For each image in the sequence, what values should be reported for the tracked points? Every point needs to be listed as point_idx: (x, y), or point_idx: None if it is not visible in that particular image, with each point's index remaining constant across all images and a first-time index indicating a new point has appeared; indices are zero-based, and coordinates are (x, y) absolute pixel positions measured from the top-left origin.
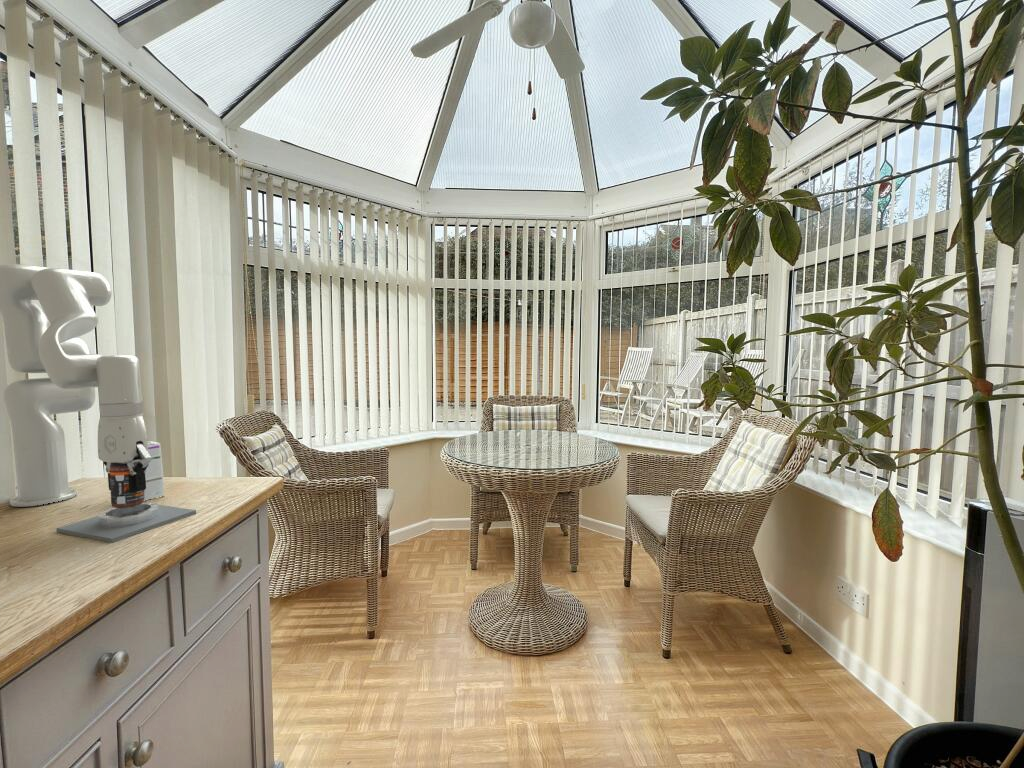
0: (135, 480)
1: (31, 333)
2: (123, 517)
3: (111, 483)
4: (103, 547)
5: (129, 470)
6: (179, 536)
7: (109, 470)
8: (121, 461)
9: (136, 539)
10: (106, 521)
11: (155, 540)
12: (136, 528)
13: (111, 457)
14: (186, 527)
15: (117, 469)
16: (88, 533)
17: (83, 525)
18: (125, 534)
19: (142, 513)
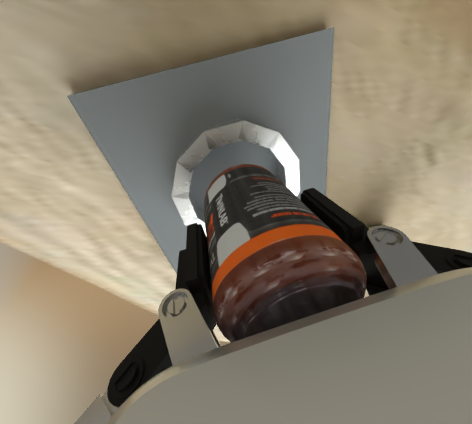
0: (183, 272)
1: None
2: (176, 164)
3: (266, 200)
4: (34, 59)
5: (194, 309)
6: (12, 218)
7: (369, 240)
8: (172, 388)
9: (60, 148)
10: (208, 128)
11: (12, 176)
12: (129, 171)
13: (359, 377)
14: (86, 242)
15: (254, 277)
16: (187, 69)
17: (282, 91)
18: (94, 137)
19: (176, 206)
